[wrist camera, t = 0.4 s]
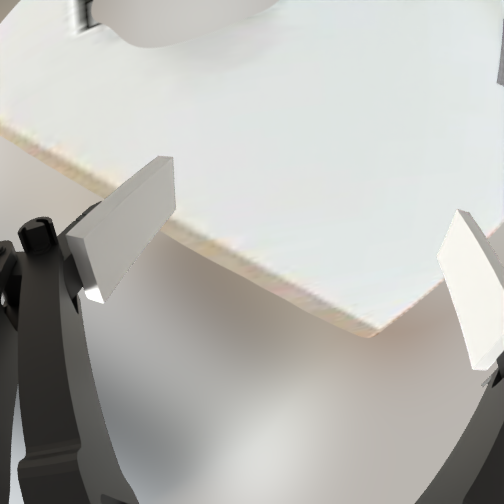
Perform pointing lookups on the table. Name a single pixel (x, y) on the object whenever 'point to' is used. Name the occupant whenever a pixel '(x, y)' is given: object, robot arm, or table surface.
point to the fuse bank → (501, 63)
